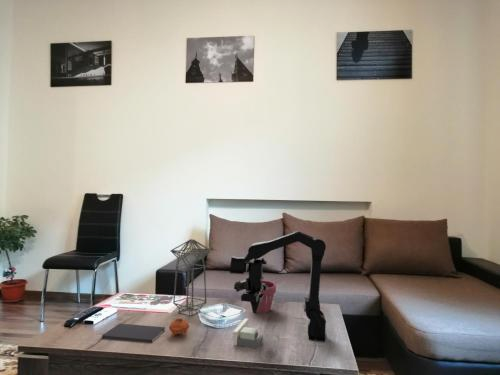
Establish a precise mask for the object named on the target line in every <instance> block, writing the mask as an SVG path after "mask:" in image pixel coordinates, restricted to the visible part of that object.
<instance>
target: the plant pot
mask: <svg viewBox="0 0 500 375" xmlns="http://www.w3.org/2000/svg"><path fill="white" fill-rule="evenodd" d="M262 283H266V284H267V285H268V290H267V291H265V290H264V289H263V290H262V291H261V294H264V296H263V298H262V300H261V303H260V305H259V307H258V310H257V312H256V314H265V313H266V314H267V313H269V312H270V311H271V310H272V309H271V308H272V304H273V300H274V295H275V294H276V292H277V289H276V288H277V285H276V283H275V282H273V281H268V280H262ZM249 292H250V291H249Z"/></svg>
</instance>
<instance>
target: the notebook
mask: <svg viewBox="0 0 500 375" xmlns="http://www.w3.org/2000/svg"><path fill="white" fill-rule="evenodd" d="M165 329H166V327H165V326H152V325H143V324H142V325H140V324H133V323H132V324H131V323H130V324H129V323H118V324H116V325H115V326H114V327H113V328H111V329H109V330H107V331H106V332H105V333H104V334H102V335H101V339H108V340H117V341H118V340H120V341H131V342H140V343H141V342H142V343H152V344H153V342H154V341H156V339H157V338H158V337H160V335H162V333H164V332H165Z"/></svg>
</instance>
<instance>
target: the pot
mask: <svg viewBox="0 0 500 375" xmlns="http://www.w3.org/2000/svg"><path fill="white" fill-rule="evenodd" d="M189 327H190V324H189V323H188V322H187V321H186V320H185V319H184V318H180V317H178V318H175V319H174V320H172V322H171V323H170V324H169V326H168V328H169V331H170V332H171V335H172V337H175V335H182V334H184V336H187V332H188V329H189Z"/></svg>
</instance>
